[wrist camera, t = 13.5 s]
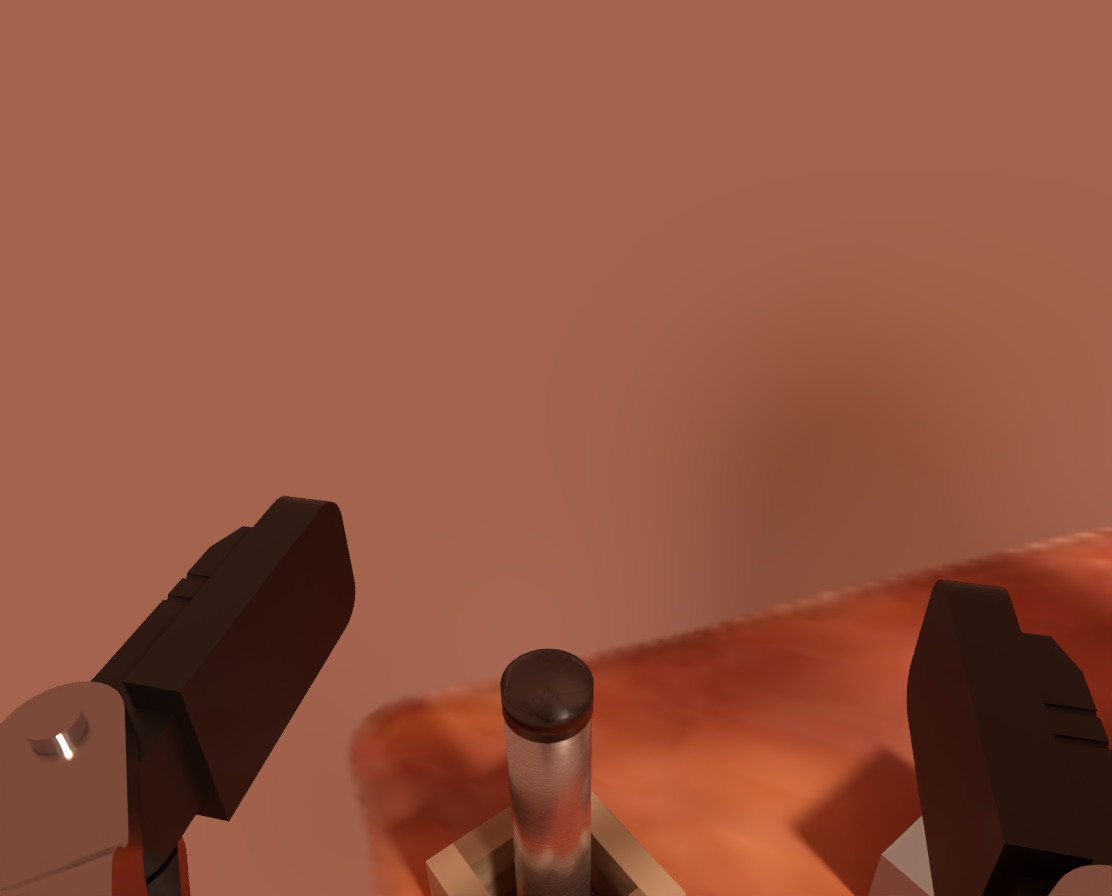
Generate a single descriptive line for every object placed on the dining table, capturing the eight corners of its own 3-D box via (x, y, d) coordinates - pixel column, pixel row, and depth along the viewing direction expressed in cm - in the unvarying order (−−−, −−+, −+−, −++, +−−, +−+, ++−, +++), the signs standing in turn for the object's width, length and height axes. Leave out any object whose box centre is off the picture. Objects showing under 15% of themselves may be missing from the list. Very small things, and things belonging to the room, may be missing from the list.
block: (1126, 936, 38) (1158, 885, 36) (1035, 1061, 34) (1065, 1012, 32) (960, 810, 44) (980, 759, 41) (864, 905, 39) (881, 854, 37)
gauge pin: (606, 935, 38) (612, 688, 30) (547, 983, 37) (537, 735, 28) (561, 880, 41) (555, 635, 32) (504, 923, 39) (482, 676, 30)
